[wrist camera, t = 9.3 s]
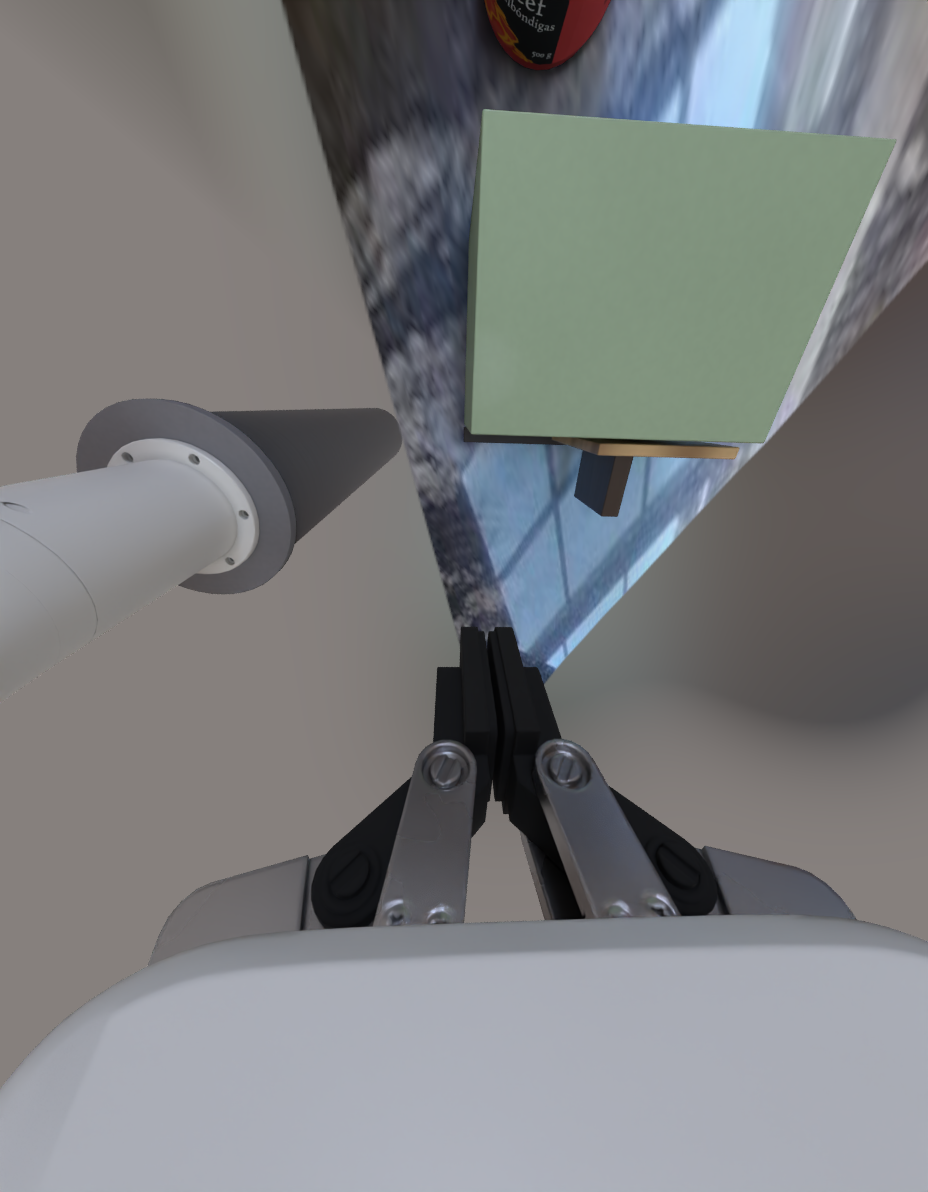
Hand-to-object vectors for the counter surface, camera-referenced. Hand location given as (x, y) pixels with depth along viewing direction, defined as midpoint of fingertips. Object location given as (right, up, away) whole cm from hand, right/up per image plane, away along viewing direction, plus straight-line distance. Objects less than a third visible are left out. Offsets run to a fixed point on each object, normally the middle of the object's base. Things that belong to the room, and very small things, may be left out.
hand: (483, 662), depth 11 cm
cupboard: (+8, +23, +16) cm, 29 cm away
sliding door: (+12, +15, +20) cm, 28 cm away
